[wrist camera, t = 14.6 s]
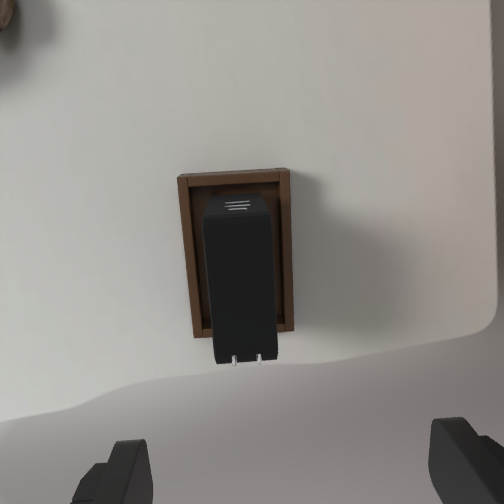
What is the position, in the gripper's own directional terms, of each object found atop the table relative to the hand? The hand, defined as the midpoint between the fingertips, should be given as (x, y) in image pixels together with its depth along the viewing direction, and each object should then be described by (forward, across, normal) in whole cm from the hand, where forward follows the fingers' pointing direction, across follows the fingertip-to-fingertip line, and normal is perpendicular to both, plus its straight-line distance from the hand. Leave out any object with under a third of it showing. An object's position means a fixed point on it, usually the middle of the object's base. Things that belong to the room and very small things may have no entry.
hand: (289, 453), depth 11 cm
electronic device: (+24, +1, +1) cm, 24 cm away
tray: (+24, +1, +1) cm, 25 cm away
